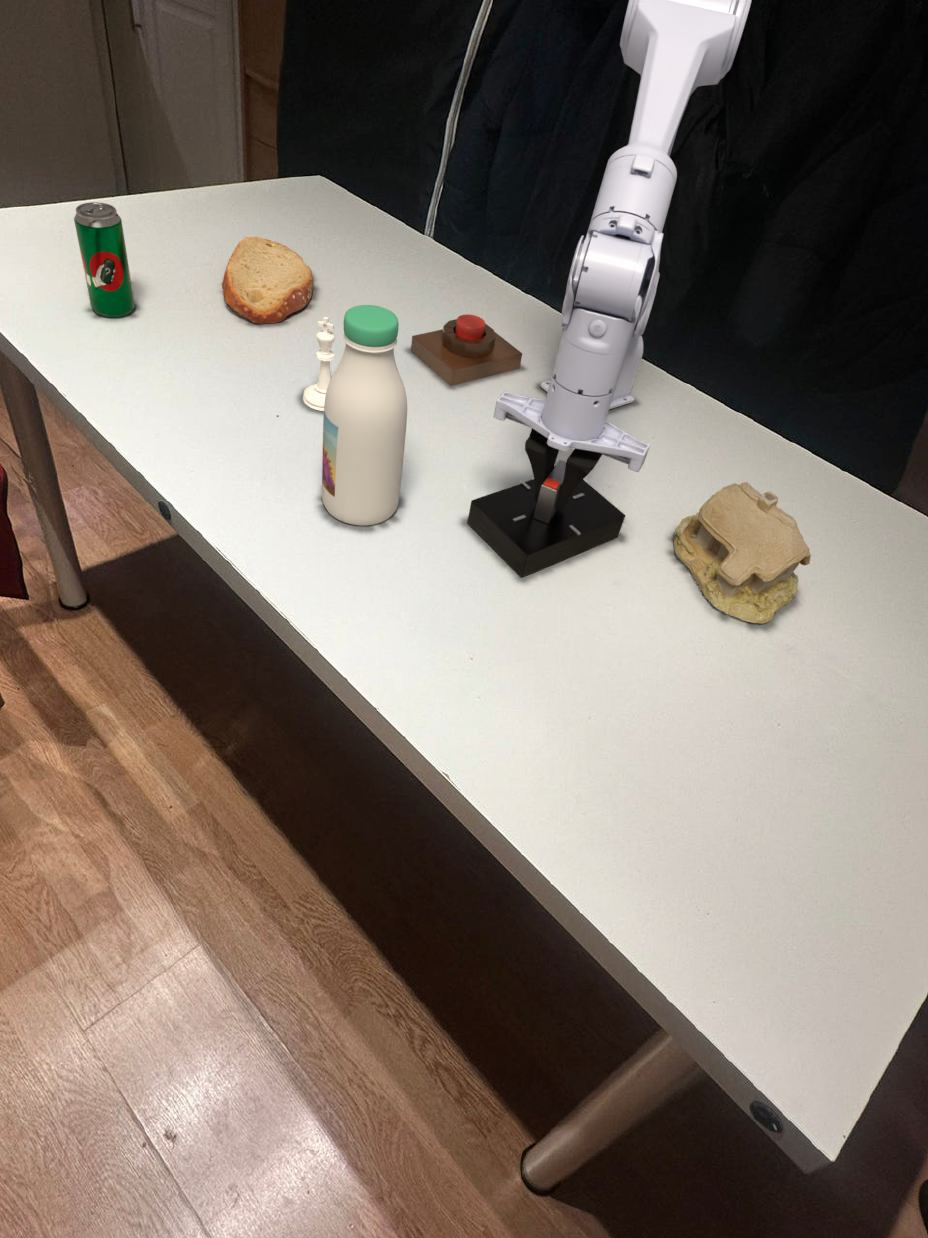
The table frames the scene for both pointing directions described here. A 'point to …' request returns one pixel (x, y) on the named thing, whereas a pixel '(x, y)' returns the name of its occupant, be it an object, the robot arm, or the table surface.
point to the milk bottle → (364, 421)
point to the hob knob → (550, 493)
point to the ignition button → (470, 327)
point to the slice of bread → (266, 281)
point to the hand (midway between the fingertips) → (550, 501)
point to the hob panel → (543, 526)
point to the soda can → (104, 259)
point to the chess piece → (321, 367)
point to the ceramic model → (743, 552)
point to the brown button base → (465, 354)
